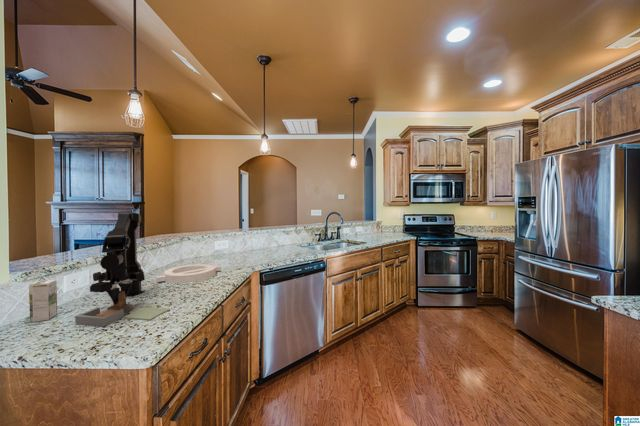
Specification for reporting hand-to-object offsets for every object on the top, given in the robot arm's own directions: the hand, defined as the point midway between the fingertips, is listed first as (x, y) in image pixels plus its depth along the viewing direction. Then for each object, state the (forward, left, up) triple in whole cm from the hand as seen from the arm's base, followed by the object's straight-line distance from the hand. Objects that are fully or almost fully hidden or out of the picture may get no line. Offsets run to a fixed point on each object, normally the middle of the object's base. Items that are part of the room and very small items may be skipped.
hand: (119, 302), depth 109 cm
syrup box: (+10, -24, -4) cm, 26 cm away
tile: (+5, 0, -4) cm, 6 cm away
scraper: (0, 0, -4) cm, 4 cm away
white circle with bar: (-52, -6, -5) cm, 53 cm away
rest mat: (0, +13, -4) cm, 14 cm away
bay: (+8, 0, -4) cm, 9 cm away
